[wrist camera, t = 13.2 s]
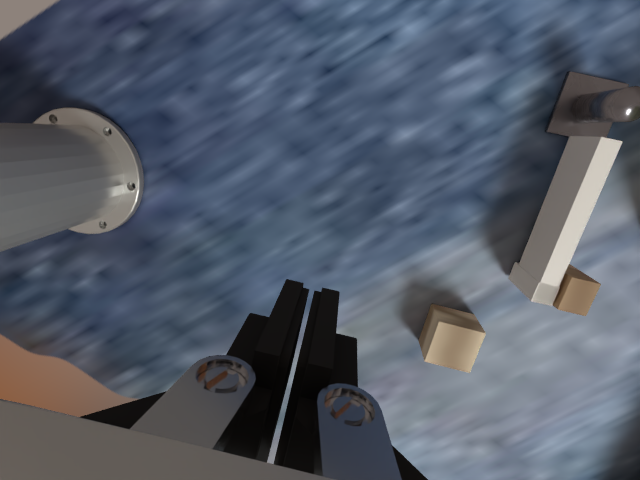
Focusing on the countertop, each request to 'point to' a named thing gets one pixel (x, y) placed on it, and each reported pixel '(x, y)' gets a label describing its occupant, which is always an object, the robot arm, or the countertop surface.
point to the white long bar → (564, 216)
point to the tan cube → (451, 338)
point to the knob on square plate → (592, 106)
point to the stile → (576, 292)
